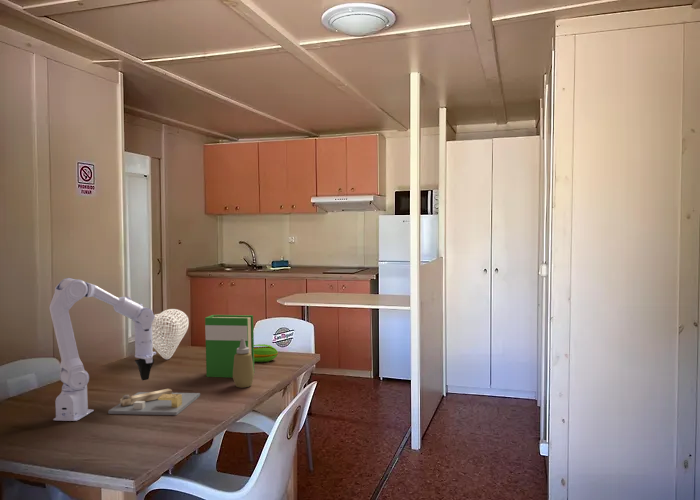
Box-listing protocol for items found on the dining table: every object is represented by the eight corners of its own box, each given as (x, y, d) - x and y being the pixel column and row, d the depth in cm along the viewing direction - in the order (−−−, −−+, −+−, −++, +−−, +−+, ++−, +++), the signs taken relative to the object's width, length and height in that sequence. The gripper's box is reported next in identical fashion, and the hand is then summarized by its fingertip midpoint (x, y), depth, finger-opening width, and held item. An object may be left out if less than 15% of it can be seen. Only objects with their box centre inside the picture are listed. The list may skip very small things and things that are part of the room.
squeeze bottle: (233, 389, 198) (232, 341, 197) (232, 383, 206) (231, 337, 205) (255, 387, 200) (254, 340, 199) (253, 382, 208) (252, 336, 207)
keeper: (177, 407, 175) (176, 397, 175) (158, 407, 176) (157, 397, 176) (182, 403, 179) (181, 394, 179) (163, 403, 180) (163, 393, 180)
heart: (173, 366, 233) (172, 316, 232) (138, 367, 233) (136, 316, 233) (193, 352, 261) (192, 306, 260) (162, 352, 261) (160, 307, 261)
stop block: (142, 409, 175) (142, 403, 175) (133, 408, 175) (133, 402, 175) (145, 407, 177) (145, 401, 177) (136, 406, 177) (136, 400, 177)
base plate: (176, 415, 171) (176, 412, 171) (108, 413, 174) (108, 410, 174) (200, 395, 191) (200, 393, 191) (138, 394, 193) (138, 392, 193)
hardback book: (254, 373, 221) (253, 315, 220) (248, 378, 214) (247, 318, 213) (213, 371, 224) (212, 314, 223) (206, 376, 217) (205, 317, 216)
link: (122, 406, 177) (122, 397, 177) (119, 404, 179) (119, 395, 179) (172, 396, 187) (172, 387, 187) (168, 393, 190) (168, 385, 190)
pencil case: (276, 345, 238) (231, 346, 238) (276, 362, 238) (231, 363, 238) (278, 343, 245) (235, 343, 245) (278, 359, 245) (235, 360, 245)
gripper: (161, 343, 184) (162, 382, 185) (150, 336, 196) (151, 373, 197) (139, 345, 180) (140, 385, 181) (129, 338, 192) (131, 376, 193)
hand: (145, 379), depth 188 cm, fingers closed
